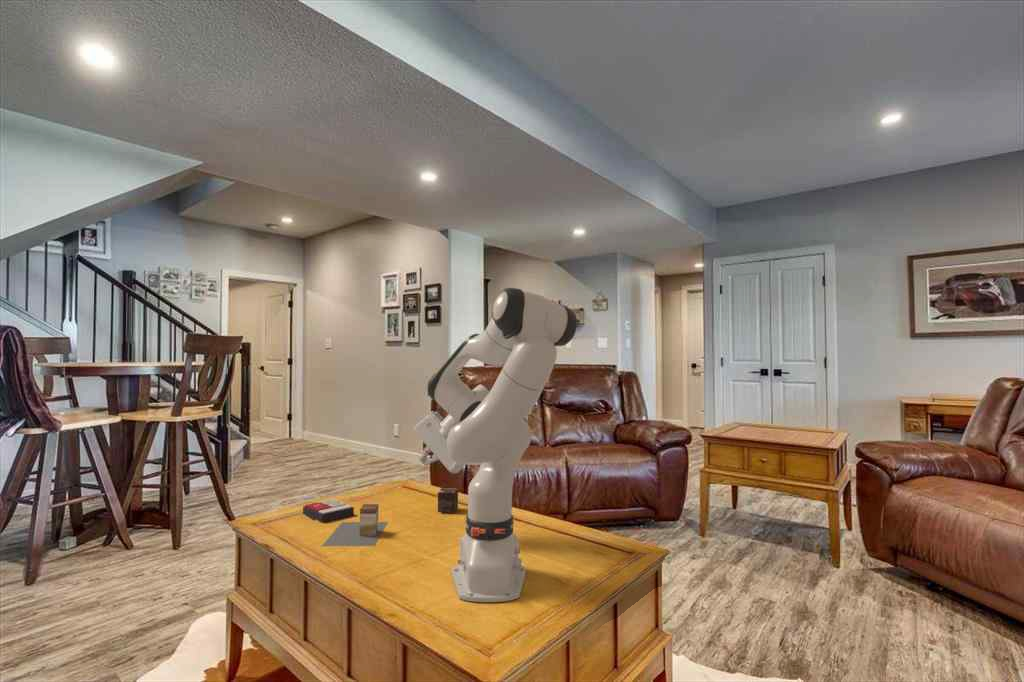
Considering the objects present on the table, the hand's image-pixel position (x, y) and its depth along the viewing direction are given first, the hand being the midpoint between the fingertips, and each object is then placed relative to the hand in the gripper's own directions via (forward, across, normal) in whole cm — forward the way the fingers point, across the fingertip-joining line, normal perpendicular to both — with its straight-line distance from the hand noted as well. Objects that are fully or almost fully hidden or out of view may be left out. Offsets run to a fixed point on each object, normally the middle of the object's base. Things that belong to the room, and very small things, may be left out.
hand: (422, 463), depth 155 cm
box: (+11, +5, +29) cm, 32 cm away
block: (+26, +2, +1) cm, 26 cm away
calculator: (+38, -18, +11) cm, 44 cm away
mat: (+29, 0, 0) cm, 29 cm away
